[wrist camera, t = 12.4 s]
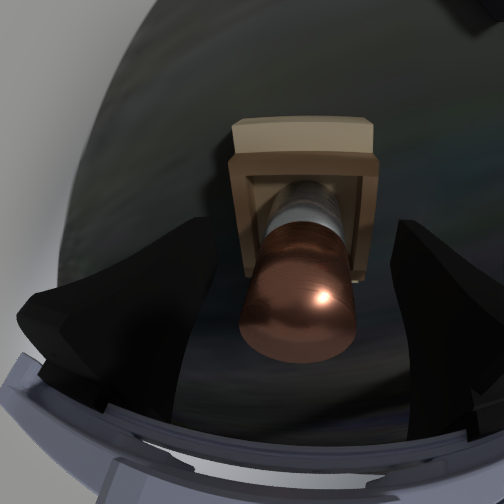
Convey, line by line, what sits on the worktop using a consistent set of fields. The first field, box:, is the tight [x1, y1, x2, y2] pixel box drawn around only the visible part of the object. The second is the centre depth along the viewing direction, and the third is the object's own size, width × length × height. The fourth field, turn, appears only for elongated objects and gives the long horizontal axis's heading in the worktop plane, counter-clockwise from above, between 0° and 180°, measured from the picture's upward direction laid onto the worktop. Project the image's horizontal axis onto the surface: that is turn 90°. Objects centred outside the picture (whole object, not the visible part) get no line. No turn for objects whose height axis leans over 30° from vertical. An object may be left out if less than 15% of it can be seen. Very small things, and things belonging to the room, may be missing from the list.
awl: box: [239, 180, 357, 363], centre depth 9 cm, size 3×3×6 cm
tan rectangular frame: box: [228, 116, 379, 283], centre depth 12 cm, size 8×6×3 cm
